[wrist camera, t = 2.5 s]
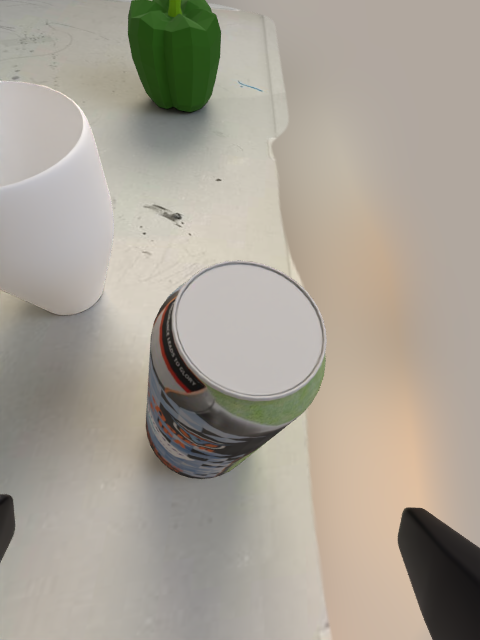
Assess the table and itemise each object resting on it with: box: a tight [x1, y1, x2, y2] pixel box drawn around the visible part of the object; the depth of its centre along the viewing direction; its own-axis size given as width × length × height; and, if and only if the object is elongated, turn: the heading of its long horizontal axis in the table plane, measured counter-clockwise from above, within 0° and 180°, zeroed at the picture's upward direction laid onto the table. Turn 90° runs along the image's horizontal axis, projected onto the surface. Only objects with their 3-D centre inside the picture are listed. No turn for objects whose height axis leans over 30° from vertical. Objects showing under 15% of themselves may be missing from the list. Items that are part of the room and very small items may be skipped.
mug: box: [0, 81, 114, 315], centre depth 21 cm, size 12×8×11 cm
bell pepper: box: [128, 0, 221, 112], centre depth 34 cm, size 8×8×10 cm
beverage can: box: [146, 260, 326, 479], centre depth 16 cm, size 6×7×12 cm
